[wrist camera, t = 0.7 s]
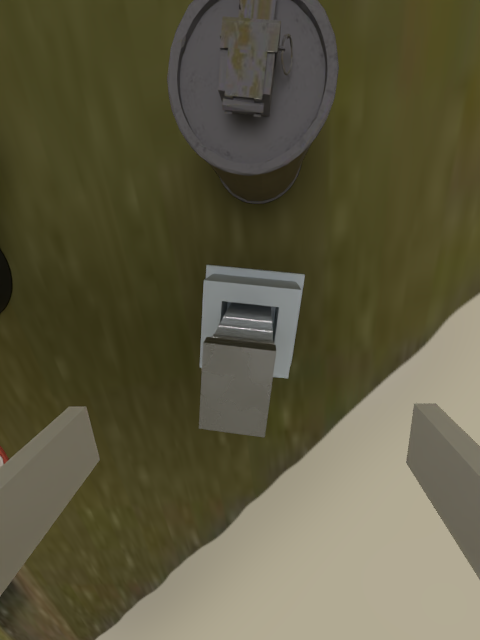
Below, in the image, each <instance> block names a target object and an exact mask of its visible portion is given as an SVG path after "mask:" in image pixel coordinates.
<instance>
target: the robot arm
mask: <svg viewBox="0 0 480 640" xmlns="http://www.w3.org/2000/svg"><path fill="white" fill-rule="evenodd" d="M10 294H11V275H10V271H9V267H8V264H7V262H6V260H5V257H4V256H3V254H2V252H1V250H0V312H1V311H2V310H3V309H4V308H5V307H6V305H7V303H8V301H9V298H10ZM99 460H100V459H99V455H98V451H97V447H96V443H95V439H94V435H93V431H92V427H91V423H90V420H89V416H88V412H87V408H86V407H68V408H67V409H66V410H65V411H64V412H63V413H61V414H60V415H59V416H58V417H57V418H56V419H55V420H54V421H52V422H51V423H50V424H49V425H48V426H47V427H46V428H44V429H43V430H42V431H41V432H40V433H39V434H38V435H37V436H35V437H34V438H33V439H32V440H31V441H30V442H29V443H27V444H26V445H25V446H24V447H23V448H22V449H21V450H20V451H18V452H17V453H16V454H15V455H14V456H13V457H12V458H10V459H9V460H8V461H7V462H6V463H5V464H4V465H2V466H1V467H0V596H1V594H2V593H3V592H4V590H5V589H6V587H7V586H8V585H9V583H10V582H11V581H12V579H13V578H14V577H15V575H16V574H17V572H18V571H19V570H20V568H21V567H22V566H23V564H24V563H25V561H26V560H27V559H28V557H29V556H30V555H31V553H32V552H33V550H34V549H35V548H36V546H37V545H38V544H39V542H40V541H41V539H42V538H43V537H44V535H45V534H46V533H47V531H48V530H49V529H50V527H51V526H52V524H53V523H54V522H55V520H56V519H57V518H58V516H59V515H60V513H61V512H62V511H63V509H64V508H65V507H66V505H67V504H68V502H69V501H70V500H71V498H72V497H73V496H74V494H75V493H76V492H77V490H78V489H79V487H80V486H81V485H82V483H83V482H84V481H85V479H86V478H87V476H88V475H89V474H90V472H91V471H92V470H93V468H94V467H95V465H96V464H97V463H98V461H99ZM406 463H407V465H408V466H409V468H410V469H411V471H412V473H413V474H414V476H415V477H416V479H417V480H418V482H419V484H420V485H421V487H422V489H423V490H424V492H425V493H426V495H427V497H428V498H429V500H430V501H431V503H432V504H433V506H434V508H435V509H436V511H437V512H438V514H439V516H440V517H441V519H442V520H443V522H444V524H445V525H446V527H447V528H448V530H449V531H450V533H451V535H452V536H453V538H454V539H455V541H456V543H457V544H458V546H459V547H460V549H461V551H462V552H463V554H464V555H465V557H466V558H467V560H468V562H469V563H470V565H471V566H472V568H473V570H474V571H475V573H476V574H477V576H478V577H479V579H480V446H479V445H478V444H477V443H476V442H475V441H474V440H473V439H472V438H471V437H470V436H468V434H467V433H465V431H463V430H462V429H461V428H460V427H459V426H458V425H457V424H456V423H455V422H454V421H453V420H452V419H451V418H450V417H449V416H448V415H447V414H446V413H445V412H444V411H443V410H442V409H441V408H440V407H439V406H438V405H437V404H414V409H413V417H412V424H411V432H410V439H409V446H408V455H407V461H406Z"/></svg>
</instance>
